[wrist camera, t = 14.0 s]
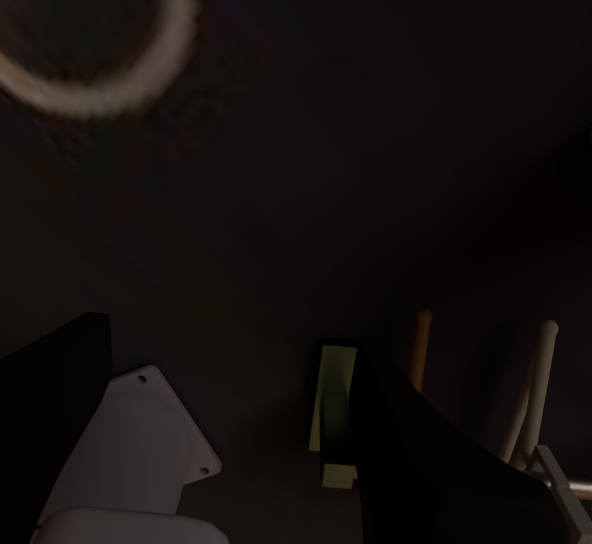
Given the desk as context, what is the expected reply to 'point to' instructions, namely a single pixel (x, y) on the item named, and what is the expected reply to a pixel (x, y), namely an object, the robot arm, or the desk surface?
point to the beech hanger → (418, 348)
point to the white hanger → (584, 534)
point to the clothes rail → (335, 421)
